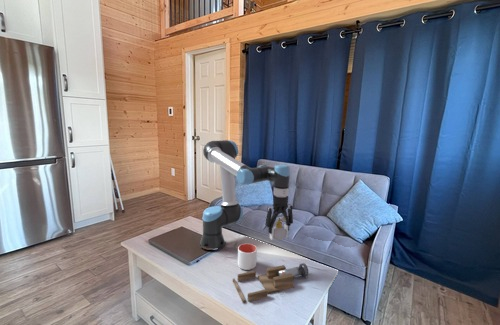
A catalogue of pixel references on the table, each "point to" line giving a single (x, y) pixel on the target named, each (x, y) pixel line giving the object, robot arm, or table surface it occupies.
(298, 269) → the shaft
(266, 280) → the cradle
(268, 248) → the table surface
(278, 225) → the perfume bottle
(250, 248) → the cup
